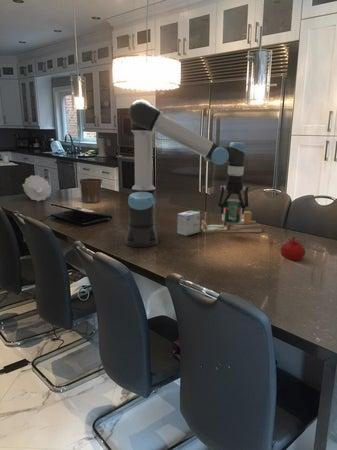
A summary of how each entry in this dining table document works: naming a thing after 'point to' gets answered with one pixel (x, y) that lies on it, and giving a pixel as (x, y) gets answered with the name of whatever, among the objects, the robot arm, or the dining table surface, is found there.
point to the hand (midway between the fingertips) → (231, 220)
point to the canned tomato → (232, 211)
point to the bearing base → (230, 228)
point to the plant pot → (90, 190)
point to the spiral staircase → (37, 188)
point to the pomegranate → (293, 250)
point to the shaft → (245, 219)
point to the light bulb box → (188, 223)
